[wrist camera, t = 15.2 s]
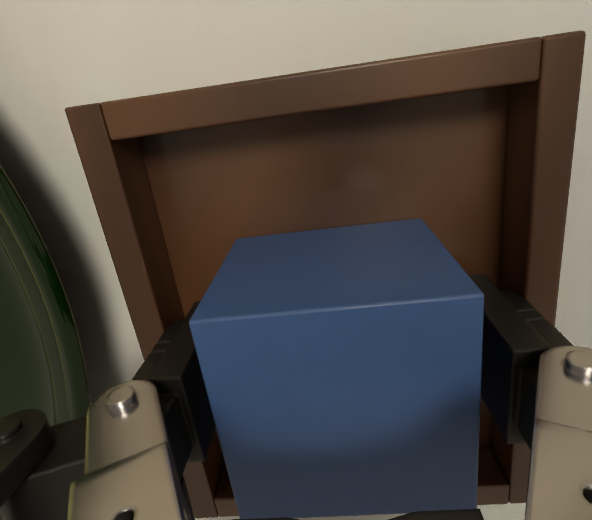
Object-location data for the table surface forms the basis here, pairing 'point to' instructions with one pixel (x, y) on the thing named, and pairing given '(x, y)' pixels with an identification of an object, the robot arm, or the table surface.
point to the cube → (344, 372)
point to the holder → (343, 186)
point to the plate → (35, 323)
